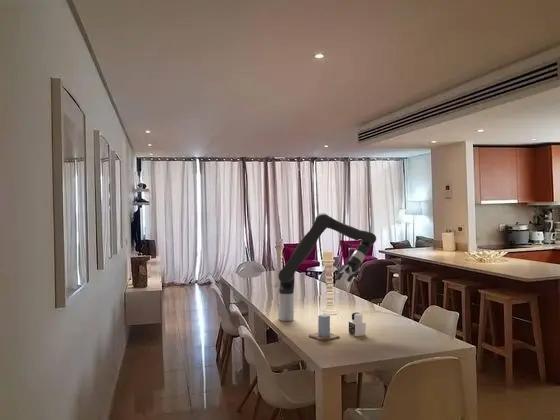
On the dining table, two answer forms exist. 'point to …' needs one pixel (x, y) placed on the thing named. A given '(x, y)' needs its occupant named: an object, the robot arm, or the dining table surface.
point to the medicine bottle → (357, 325)
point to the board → (327, 338)
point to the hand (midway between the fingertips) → (342, 280)
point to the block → (324, 325)
